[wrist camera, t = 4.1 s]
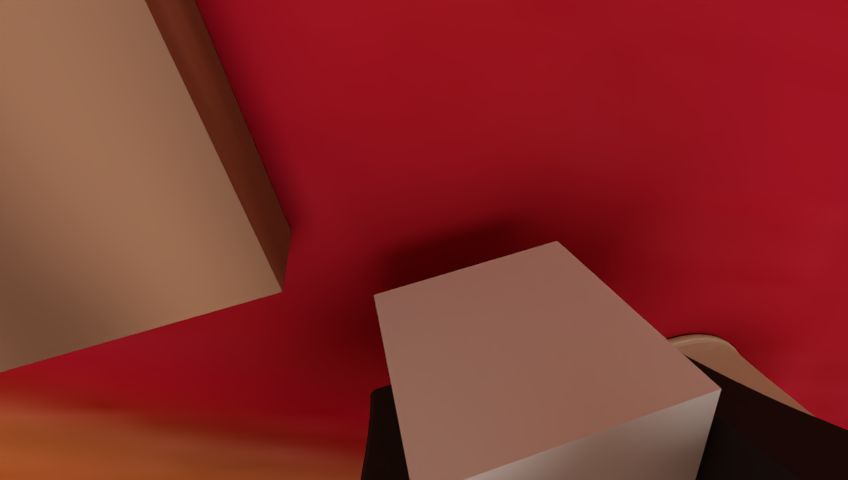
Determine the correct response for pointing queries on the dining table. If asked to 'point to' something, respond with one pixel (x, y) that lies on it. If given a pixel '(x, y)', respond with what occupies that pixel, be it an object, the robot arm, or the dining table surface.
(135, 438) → the dining table surface
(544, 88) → the dining table surface
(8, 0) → the plinth
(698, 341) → the can
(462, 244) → the dining table surface
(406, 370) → the cube
